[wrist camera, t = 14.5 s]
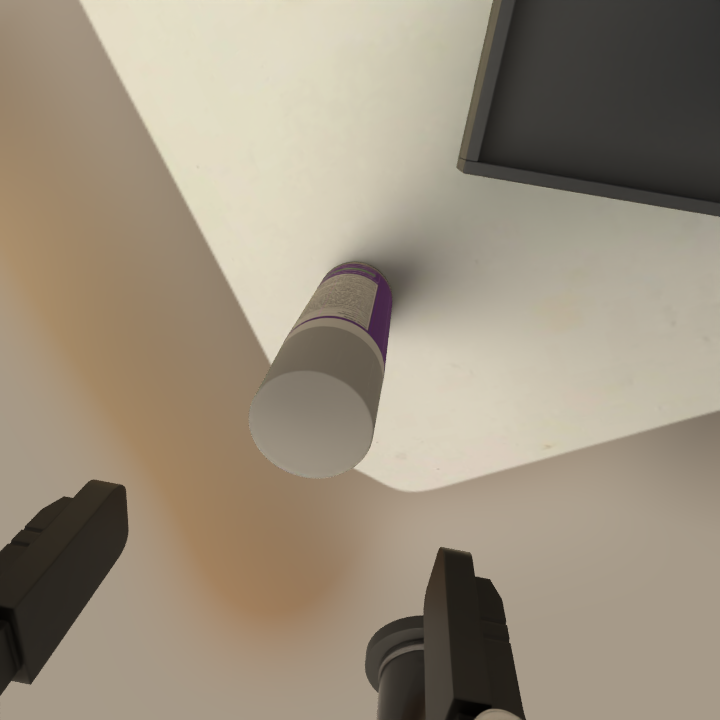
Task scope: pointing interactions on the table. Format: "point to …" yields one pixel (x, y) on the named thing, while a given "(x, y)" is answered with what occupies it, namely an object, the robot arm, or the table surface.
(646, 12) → the tray
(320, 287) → the container
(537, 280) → the table surface
